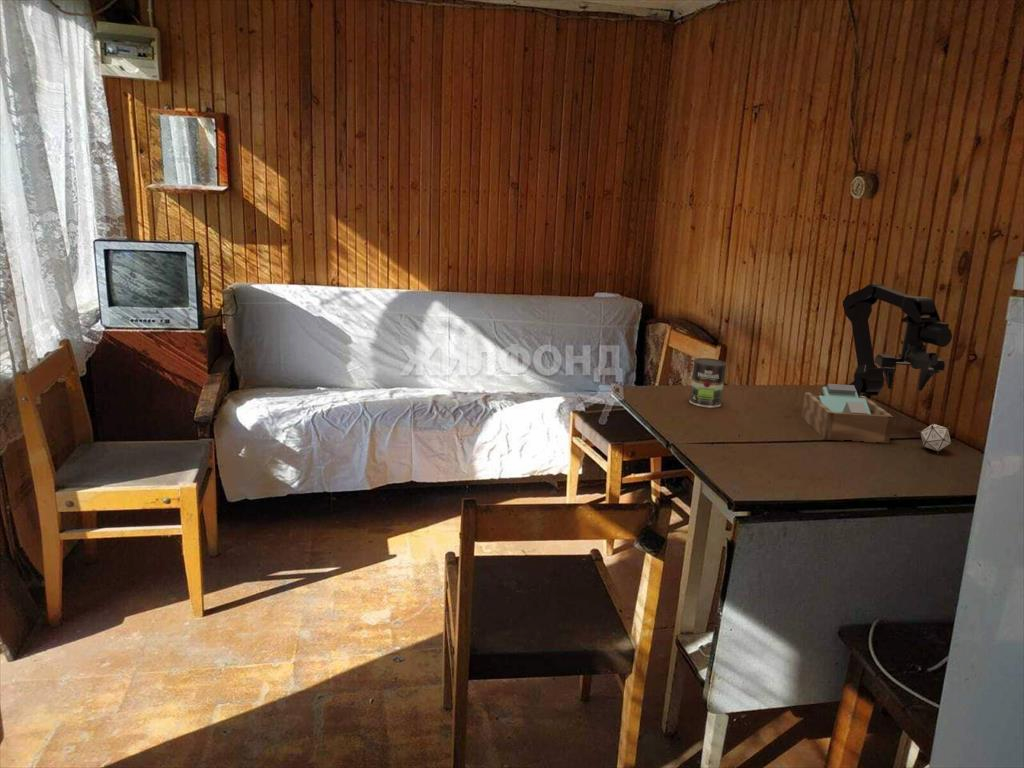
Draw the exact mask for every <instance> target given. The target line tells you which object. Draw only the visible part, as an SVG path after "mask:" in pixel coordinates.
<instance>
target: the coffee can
mask: <svg viewBox="0 0 1024 768" xmlns="http://www.w3.org/2000/svg"><path fill="white" fill-rule="evenodd" d="M727 364H728V363H727V362H725V361H723V360H720V359H715V358H710V357H709V358H707V357H701V358H700V357H698V358H695V359H694V360H693V370H692V377H691V385H690V392H689V393H690V394H689V400H688V402H689V403H690V404H691V405H694V406H697V407H701V408H707V409H708V408H709V409H711V408H712V409H713V408H719V407H721V406H722V398H723V390H724V384H725V383H724V382H725V375H726V367H727Z"/></svg>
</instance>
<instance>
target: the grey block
mask: <svg viewBox="0 0 1024 768" xmlns="http://www.w3.org/2000/svg"><path fill="white" fill-rule="evenodd" d="M843 413H859V414H868V412H867V410H866V408H865V405H864V403H863V402H846V405H845V407H844V410H843Z"/></svg>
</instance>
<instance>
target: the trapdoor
mask: <svg viewBox="0 0 1024 768" xmlns="http://www.w3.org/2000/svg"><path fill="white" fill-rule="evenodd" d="M821 389H822V390H821V391H822V393H823V395H818V396H819V397H818V399H819V401H820V402H821V403H823V404H824V405H825V406H826V407H827V408H828V409H830V410H831V411H832V412H843V410H844V407H845V405H846V402H863V403H864V405H865V408H866V410H867V412H868V414H871V413H870V410H869V407H868V404H867V402H866V399H865V398H859V397H858V394H857V391H856V389H855V386H854V385H849V384H841V383H840V384H838V383H837V384H836V383H827V385H826V386H823V387H822V388H821Z"/></svg>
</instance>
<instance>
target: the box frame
mask: <svg viewBox="0 0 1024 768" xmlns="http://www.w3.org/2000/svg"><path fill="white" fill-rule="evenodd" d="M819 396H820V395H813V394H812V393H811V392H805V393H804V398H803V404H802V411H801V418H802V419H803V420H804V421H805V422H807V424H808V425H809V426H810V427H811V428H813V430H815V432H816V433H817V434H818V435H820V436H821V437H822V439H823V440H828V441H844V440H852V441H851V442H860V441H864V443H876V442H885V443H884V444H889V443H890V439H891V436H892V435H891V434H892V428H893V424H894V420H895V419H894V416H893V415H892V414H890V413H889V412H887V411H886V410H885V409H883V408H882V407H881V406H880V405H877V404H876V403H875V402H874V401H872V399H871V400H869V399H868V398H867V397H865V396H860V398H865V399H866V402H867V404H868V407H869V410H870V413H871V414H859V413H843V412H832V411H831V410H830V409H828V408H827V407H826V406H825V405H824V404H823V403H821V402H820V401H819V399H818V397H819Z"/></svg>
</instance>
